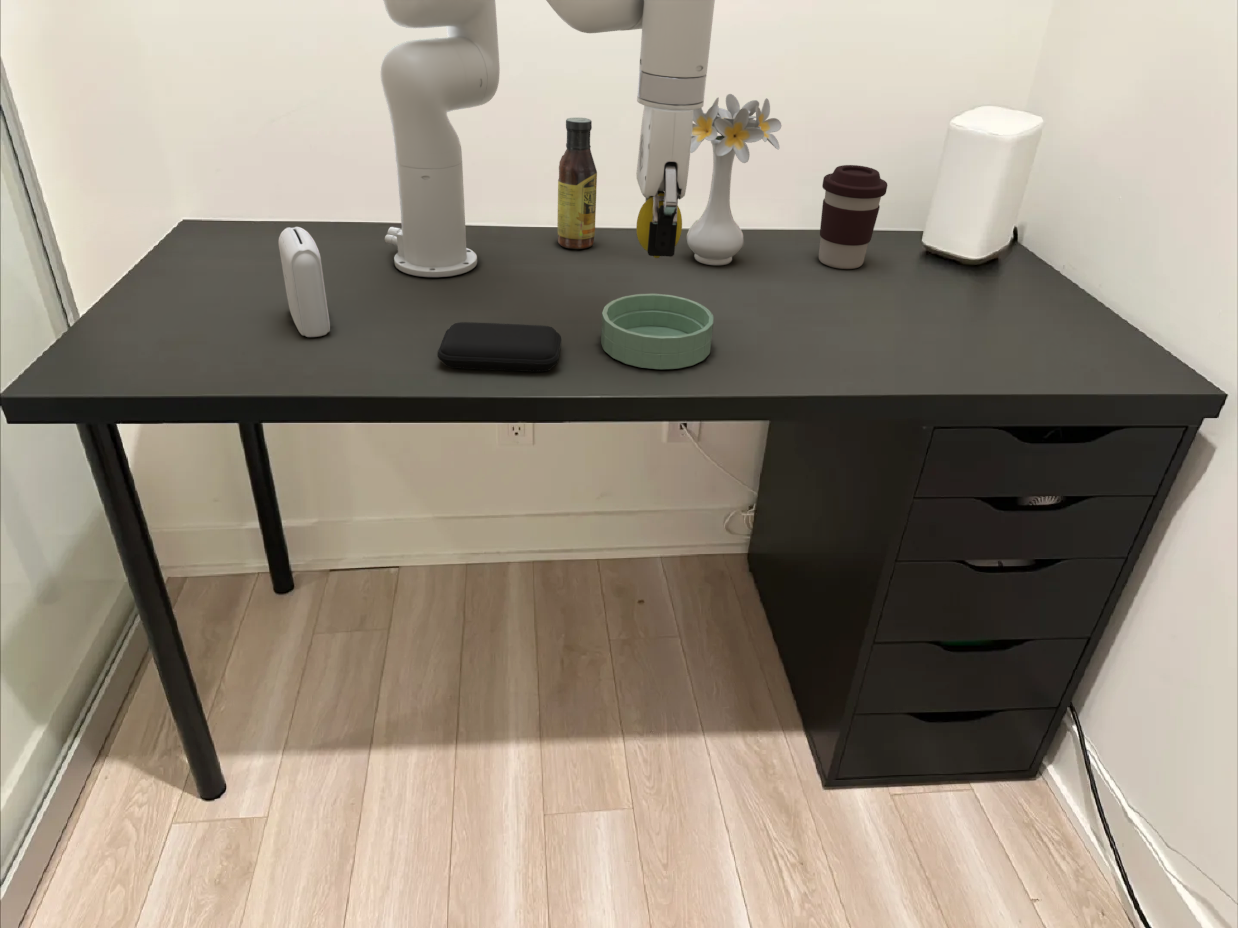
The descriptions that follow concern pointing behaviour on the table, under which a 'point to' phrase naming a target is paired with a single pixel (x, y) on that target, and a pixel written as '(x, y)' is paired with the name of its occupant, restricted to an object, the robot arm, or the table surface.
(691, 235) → the flower vase
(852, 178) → the coffee cup
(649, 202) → the lemon
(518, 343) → the carrying case
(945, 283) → the table surface
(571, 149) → the sauce bottle
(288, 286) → the photo printer
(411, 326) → the table surface
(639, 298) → the fruit bowl
